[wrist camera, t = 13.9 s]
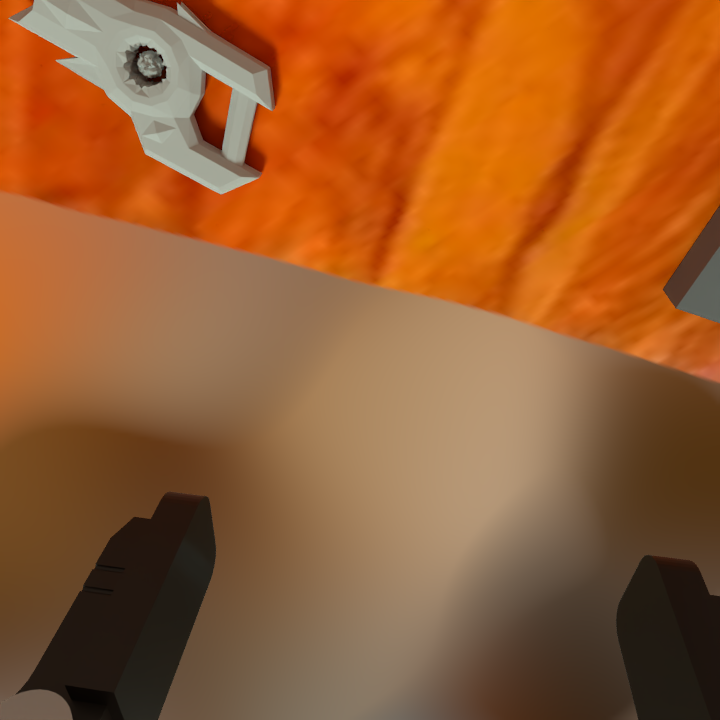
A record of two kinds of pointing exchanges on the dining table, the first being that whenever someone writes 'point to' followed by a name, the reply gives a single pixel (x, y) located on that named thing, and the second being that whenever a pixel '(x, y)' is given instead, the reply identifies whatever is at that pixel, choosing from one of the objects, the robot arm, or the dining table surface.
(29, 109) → the dining table surface
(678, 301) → the two-hole peg board
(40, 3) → the gun
